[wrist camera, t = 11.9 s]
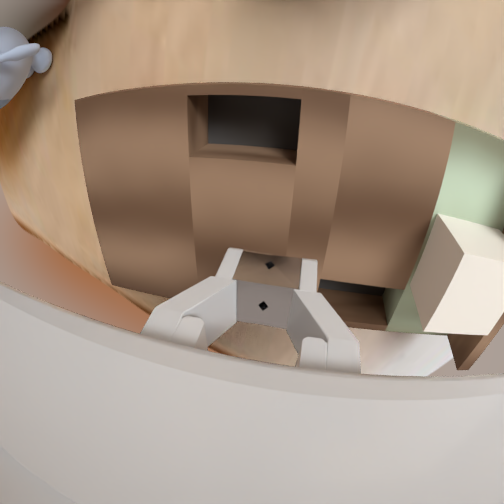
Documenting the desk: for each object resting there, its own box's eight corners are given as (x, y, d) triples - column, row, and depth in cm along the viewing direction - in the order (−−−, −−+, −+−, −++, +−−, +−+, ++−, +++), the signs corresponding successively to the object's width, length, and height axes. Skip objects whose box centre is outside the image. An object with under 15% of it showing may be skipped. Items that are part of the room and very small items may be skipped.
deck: (106, 92, 15) (35, 112, 10) (510, 142, 11) (570, 180, 6) (131, 261, 22) (90, 312, 17) (447, 306, 18) (468, 369, 14)
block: (437, 213, 12) (464, 253, 9) (499, 229, 11) (529, 267, 9) (409, 284, 15) (423, 331, 12) (469, 293, 14) (487, 335, 11)
